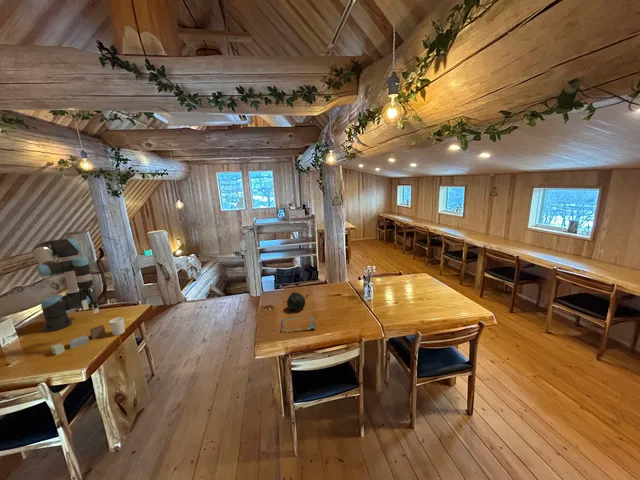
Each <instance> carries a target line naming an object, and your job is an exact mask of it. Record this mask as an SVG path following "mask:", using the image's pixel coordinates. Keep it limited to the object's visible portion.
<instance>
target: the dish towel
mask: <svg viewBox="0 0 640 480" xmlns="http://www.w3.org/2000/svg"><path fill="white" fill-rule="evenodd" d="M300 318H301V317H298V318H297V317H296V318H295V319H300ZM309 318H311V319H312V323H311V326H310V327H308V328H307V329H314V328H315V320H314V321H313V319H314V317H313V316H310V317H309ZM292 319H293V318H285V319H284V318H282V319H281V325H282V326H281V325H280V327H281V328H280V332H281V331H292V330H283V328H284V326H283V324H285V323H283V322H284V321H285V320H292ZM315 329H316V328H315ZM294 330H302V328H301V329H300V328H298V329H294Z"/></svg>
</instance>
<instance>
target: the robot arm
mask: <svg viewBox="0 0 640 480" xmlns="http://www.w3.org/2000/svg"><path fill="white" fill-rule="evenodd" d="M80 252H81V247H80V245H79V243H78V241H77V240H76V239H75V238H73V237H71V238H70V237H69V238H67V237H66V238H61V239H51V240H45V241H42V242H39V243H37V244H36V245H35V246H34V247H33V249H32V251H31V256H32V257H33V258H34V259H36V260H37V262H38V264H39V265H37V266H36V270H37V273H38V276H39V277H41V278H42V277H50V276H54V275H55V276H56V275H59V274H64V278H65V284H66V286H67V291H66V292H65V294H66V295H63V294H59V293H58V294H55V295H51V296H49V297H46V298H44V299H43V300H42V301H41V302H40V305H41V307H40V309H42V314H43V318H44V323H43V328H42V329H43V332H46V333H47V332H48V333H49V332H54V331H55V332H56V331H59V330H63V329H65V328H68V327H69V326H71V325H72V324H73V320H72V319H71V317H70V316H69V314H68V312H67V311H70V310H74V309H78V308H82V310H83V311H86V310H89V308H90V307H89V305H91V307H92V312H93V314H97V313H100V310H99V305H98V303H99V301H100V300H99V299H98V296H97V294H96V292H95V289H94V288H91V287H92V286H93V285H94V282H93V281H94V280H93V277H92V273H91V269H90V264H89V263H90V262H89V259H88V257H86V256H79V253H80ZM55 257H57V259H58V260H60V261H56V259H55Z"/></svg>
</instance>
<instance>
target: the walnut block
mask: <svg viewBox="0 0 640 480" xmlns="http://www.w3.org/2000/svg"><path fill="white" fill-rule="evenodd" d="M89 333H90V336H91V339H92V340H95V339H99V338H101V337H104V336H107V333H106V328H105V326H104V325H103V324H101V325H98V326H95V327H91V328H89Z"/></svg>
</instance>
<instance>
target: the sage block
mask: <svg viewBox="0 0 640 480" xmlns="http://www.w3.org/2000/svg"><path fill="white" fill-rule="evenodd" d="M50 349H51V351H50V352H51V353H52V354H53V355H55V356H58V355H60V354H62V353H63V354H64V353H65V352H66V350H65V345H64V344H62V343H60V342H58V343H56V344H53V345H51V346H50Z"/></svg>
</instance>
